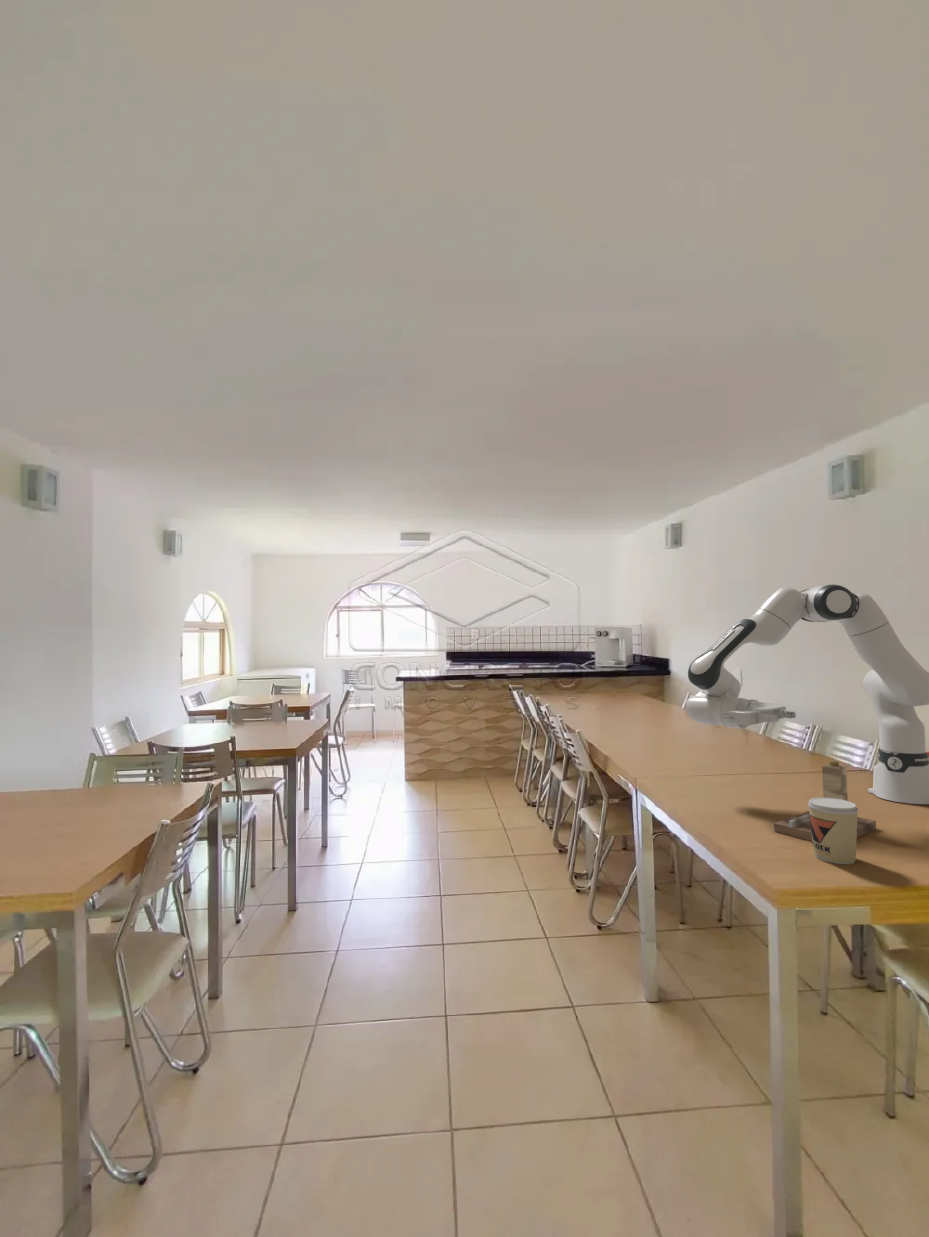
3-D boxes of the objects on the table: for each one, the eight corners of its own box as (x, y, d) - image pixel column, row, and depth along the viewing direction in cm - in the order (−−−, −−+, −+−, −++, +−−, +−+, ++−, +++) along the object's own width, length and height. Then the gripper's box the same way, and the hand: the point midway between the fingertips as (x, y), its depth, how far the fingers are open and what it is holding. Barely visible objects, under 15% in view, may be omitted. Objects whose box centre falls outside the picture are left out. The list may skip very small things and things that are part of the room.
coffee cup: (800, 851, 132) (798, 797, 133) (839, 849, 133) (837, 796, 133) (828, 866, 123) (826, 809, 123) (870, 865, 124) (868, 807, 124)
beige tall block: (831, 813, 153) (829, 759, 153) (851, 817, 149) (849, 762, 149) (824, 816, 150) (822, 761, 151) (844, 820, 146) (842, 764, 147)
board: (817, 815, 158) (816, 802, 158) (876, 828, 147) (875, 814, 147) (774, 831, 146) (773, 817, 146) (834, 847, 134) (834, 831, 135)
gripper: (717, 705, 166) (764, 709, 155) (756, 699, 178) (803, 702, 166) (718, 727, 166) (766, 732, 155) (757, 719, 178) (804, 724, 166)
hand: (785, 716), depth 161 cm, fingers open, 8 cm apart
